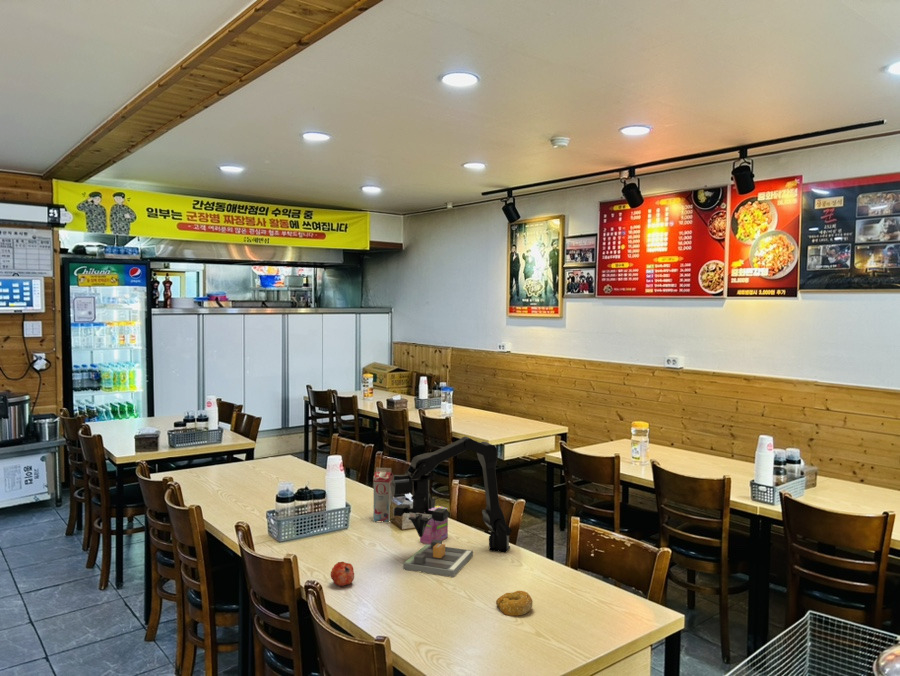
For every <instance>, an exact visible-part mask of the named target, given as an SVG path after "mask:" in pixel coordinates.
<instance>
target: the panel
mask: <svg viewBox="0 0 900 676" xmlns="http://www.w3.org/2000/svg"><path fill="white" fill-rule="evenodd" d="M437 543H439V544H443V540H435V539H434V540H433V541H432V542H431V545H430V544H424V546H422V547H421V548H419V549H418V551H416V552H415V553H414V554H412V556H410V558H408V559H407V560H405V562H403V564H402V567H403V570H404V569H405V570H406V571H411V570H413V571H412V572H417V571H421V572H420V573H423V572H425V573H424V574H430V573H431V574H430V575H436V574H438V576H442V575H444V577H449V576H451V577H450V578H454V577H455V576H456V575H457V574H458V573H459V572H460V571H461V569H462V568H463V567H464V566H465V565H466V564H467V563H468V562H469V561H470V560H471V559H472V558H473V556H474V550H473V549H472V550H471V549H464V548H460V547H459V548H458V547H450V546H445V555H444V556H443V557H442V558H436V557H433V547H434V546H435V545H436V544H437ZM471 557H472V558H471ZM459 570H460V571H459Z"/></svg>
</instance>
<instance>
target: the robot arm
mask: <svg viewBox="0 0 900 676" xmlns="http://www.w3.org/2000/svg"><path fill="white" fill-rule="evenodd" d="M467 450H470V451H472V452H475V453H476V455H477V459H478V462H479V463H480V465H481V467H482V475H483V485H484V492H485V493H484V494H485V502H486V503H485V504H486V505H485V509H482V510H481V513H482V521H483V522H484V524H485V525H486V526H487V527H488V529H489V530H490V532H489V533H490V535H489V536H488V547H489V548H488V551H490V552H497V553H504V554H505V553H507V552H508V551H509V549H510V548H511V545H510V536H511V533H512V531H513V529H512V528H511V527H509V525H508V524H506V523H507V522H506V519H505V515H504V513H503V510H502V508H501V505H500V500H499V491H498V482H497V475H496V466H497V462H498V453H499V452H498V448H497V447H496V446H495V445H494V444H491V443H489V442H487V441H481V442H479V441H478V440H474V439H473V438H471V437H468V436H462V437H461V438H459V439H458V440H456V441H453V442H451V443H449V444H447V445H445V446H443V447H441V448H439V449H437V450H435V451H432V452H425V453H424V452H423V453H421V454H418V455H415V456H414V457H412V459H411V461H410V465H409V467H408V468H407V470H406V471H405V473H404V474H393V479H392V481H391V492H392V495H393V496H401V495H410V493H412V496H411V499H410V500H412V507H411V505H410V504H407V503H400V504H399V505H397V506H395V507H393V517H394V516H395V517H402V516H403V515H405V514H408V515H409V517H408V520H409V521H411V523H412V525H413V526H414V528H415V530H416V533H417V535H418V536H419V538H420V537H422V536H423V533H424V530H425V528H426V525H427V523H428V521H429V520H431V519H433V520H434V521H444V520H445V519H446V518H447V517H448V518H449V510H448V511H447V509H441V508H437V509H436V510H435V511H431V510H429V509H431V508H435V506H436V498H433V497H431V496H432V495H431V493H430V481H431V480H432V481H433V480H435V479H436V477H435V476H433V474H432V473H431V472H432V471H433V470H435V468H437V466H439V464H441V463H442V462H445V461H447V460H449V459H452V458H453V457H455V456H458V455H459V454H461V453H464V452H466V451H467Z"/></svg>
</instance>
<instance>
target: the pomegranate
mask: <svg viewBox="0 0 900 676" xmlns="http://www.w3.org/2000/svg"><path fill="white" fill-rule="evenodd" d="M330 578H331V579H332V581H333V584H334V585H335V586H339V587H345V586H347V585H351V584H352V583H353V581H354V580H355V572H354V567H353V565H352V564H351V563H349V562H345V561H339V562H337V563H336V564H334V566H333V567H332V569H331V571H330Z"/></svg>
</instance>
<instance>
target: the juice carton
mask: <svg viewBox="0 0 900 676" xmlns="http://www.w3.org/2000/svg"><path fill="white" fill-rule="evenodd" d="M393 475H394V473H393V472H392V467H390V468H389V467H375V473H374V475H373V522H374V521H383V522H389V521H390V505H391V500H392V499H393V500H394V495H392V492H391V481H392V479H393ZM390 522H391V521H390ZM390 522H389V523H390Z"/></svg>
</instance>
